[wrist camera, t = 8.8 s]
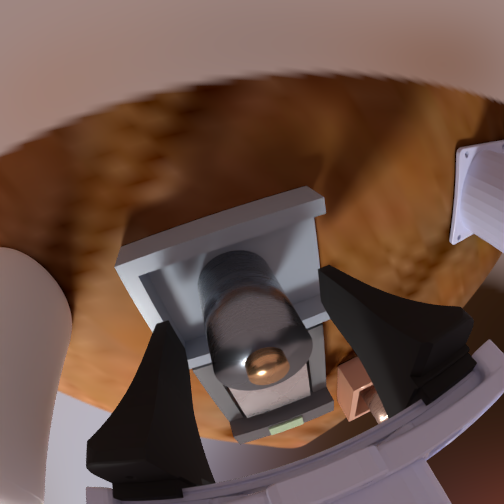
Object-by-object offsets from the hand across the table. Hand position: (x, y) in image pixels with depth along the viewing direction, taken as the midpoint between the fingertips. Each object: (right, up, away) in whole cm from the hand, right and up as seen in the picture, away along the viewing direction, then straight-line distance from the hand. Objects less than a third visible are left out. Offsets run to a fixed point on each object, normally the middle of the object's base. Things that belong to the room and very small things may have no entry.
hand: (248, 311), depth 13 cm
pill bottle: (-14, 0, 0) cm, 14 cm away
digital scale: (+1, -7, +7) cm, 10 cm away
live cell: (-1, +1, +2) cm, 3 cm away
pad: (+1, -7, +6) cm, 9 cm away
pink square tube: (+12, -9, +12) cm, 19 cm away
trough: (-1, +1, +2) cm, 3 cm away
